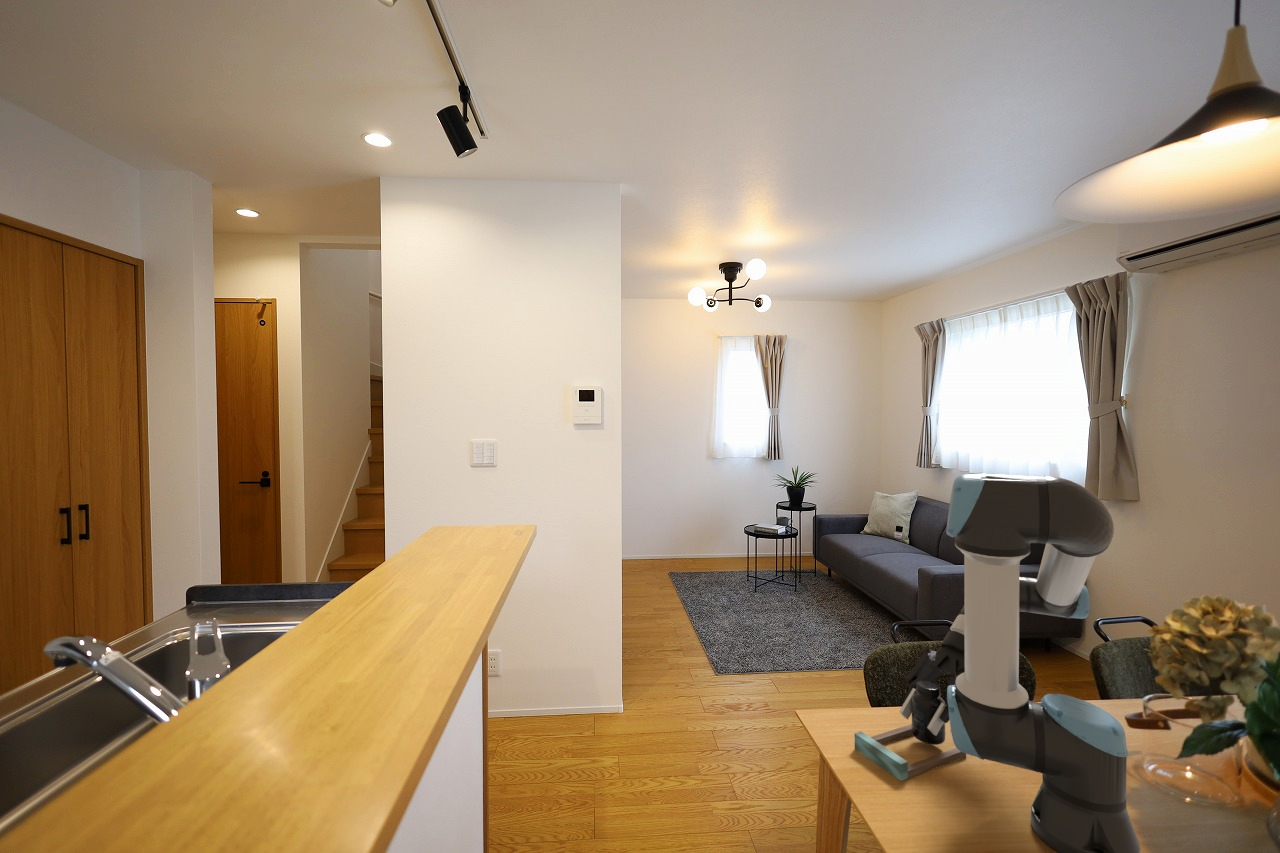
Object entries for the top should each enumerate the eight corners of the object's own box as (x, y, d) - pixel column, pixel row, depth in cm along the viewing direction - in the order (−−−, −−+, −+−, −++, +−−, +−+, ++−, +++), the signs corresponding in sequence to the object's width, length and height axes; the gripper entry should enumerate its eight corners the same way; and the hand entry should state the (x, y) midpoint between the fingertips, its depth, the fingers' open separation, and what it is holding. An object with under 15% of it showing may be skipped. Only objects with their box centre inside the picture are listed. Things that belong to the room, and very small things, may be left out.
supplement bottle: (949, 747, 123) (949, 693, 122) (916, 744, 124) (916, 690, 124) (939, 730, 129) (939, 679, 129) (908, 727, 131) (907, 676, 131)
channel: (966, 756, 122) (966, 740, 122) (900, 781, 114) (900, 764, 114) (917, 728, 134) (917, 713, 134) (854, 748, 126) (854, 733, 126)
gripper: (1015, 665, 124) (966, 756, 117) (936, 634, 142) (890, 712, 135) (999, 645, 122) (948, 736, 115) (921, 617, 140) (873, 694, 133)
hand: (917, 723), depth 125 cm, fingers closed on supplement bottle, 7 cm apart
